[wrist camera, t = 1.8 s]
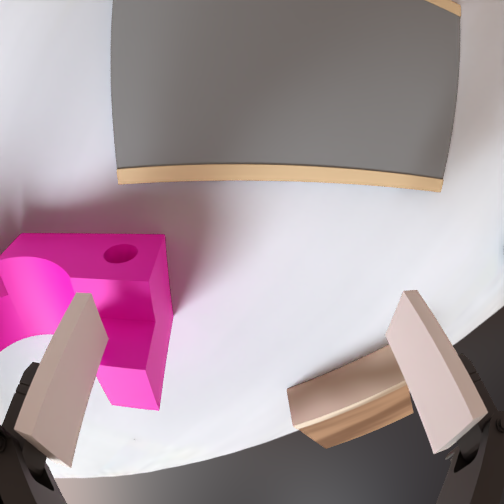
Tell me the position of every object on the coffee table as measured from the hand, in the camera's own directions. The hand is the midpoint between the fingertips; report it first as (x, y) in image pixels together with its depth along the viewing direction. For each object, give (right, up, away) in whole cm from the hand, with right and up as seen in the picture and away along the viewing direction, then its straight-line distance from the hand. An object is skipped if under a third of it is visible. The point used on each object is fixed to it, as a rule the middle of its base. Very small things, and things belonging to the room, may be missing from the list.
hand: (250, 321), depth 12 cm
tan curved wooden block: (+12, -15, +15) cm, 25 cm away
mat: (+2, +12, 0) cm, 12 cm away
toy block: (-13, +1, +6) cm, 14 cm away
